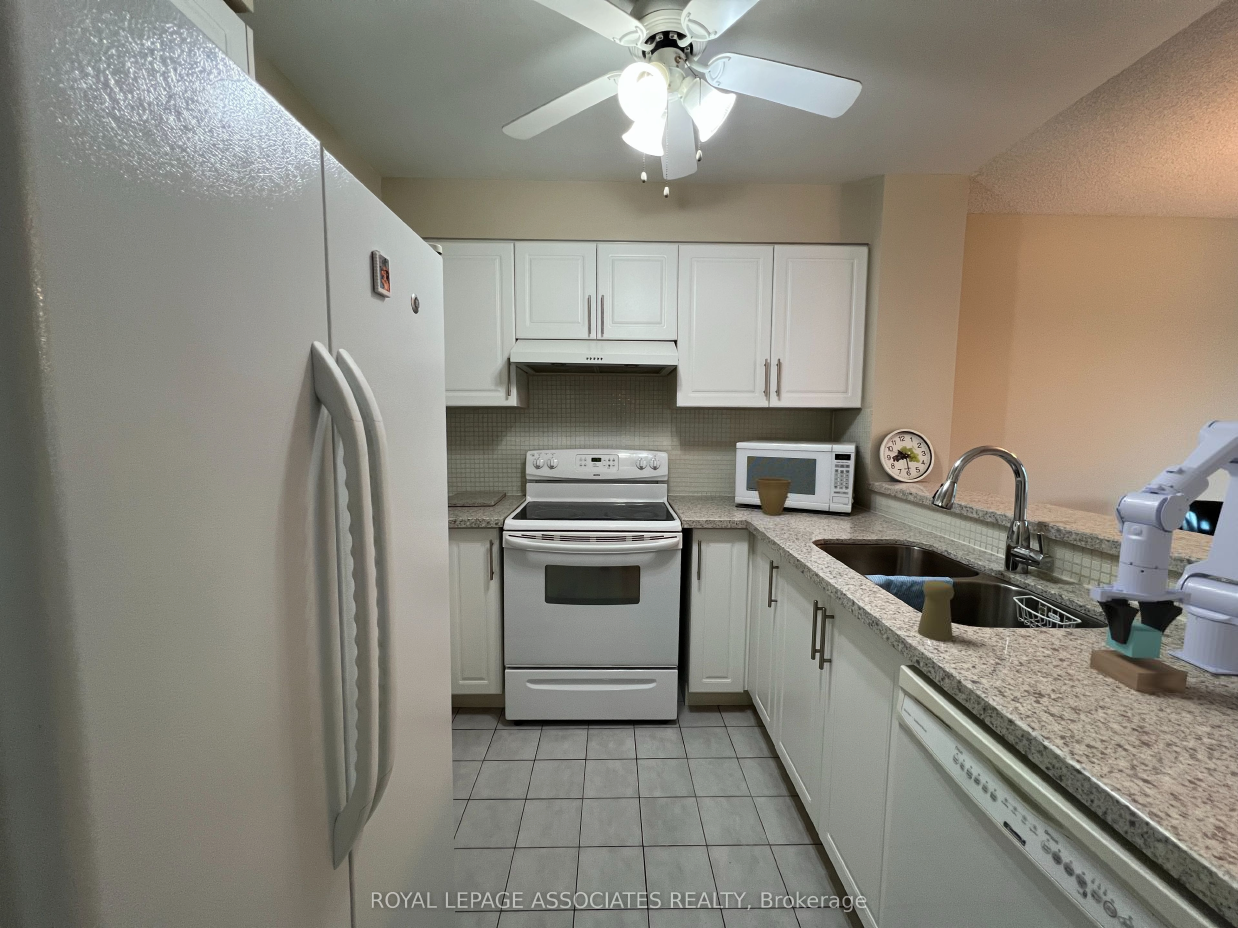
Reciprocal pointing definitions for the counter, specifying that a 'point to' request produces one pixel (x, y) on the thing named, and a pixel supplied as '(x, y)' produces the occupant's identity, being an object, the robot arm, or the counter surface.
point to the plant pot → (772, 494)
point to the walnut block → (1138, 672)
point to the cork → (936, 611)
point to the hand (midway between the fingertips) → (1134, 642)
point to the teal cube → (1139, 642)
